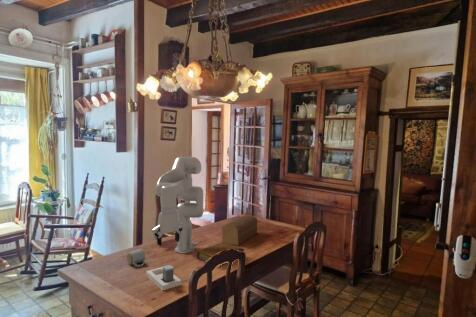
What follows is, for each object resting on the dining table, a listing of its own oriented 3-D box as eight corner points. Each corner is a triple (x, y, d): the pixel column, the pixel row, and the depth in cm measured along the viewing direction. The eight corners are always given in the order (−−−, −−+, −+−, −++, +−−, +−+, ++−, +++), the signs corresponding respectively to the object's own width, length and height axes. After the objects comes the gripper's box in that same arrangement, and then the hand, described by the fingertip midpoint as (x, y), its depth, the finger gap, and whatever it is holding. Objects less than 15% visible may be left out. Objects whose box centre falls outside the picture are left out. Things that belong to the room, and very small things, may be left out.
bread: (257, 233, 241) (258, 215, 240) (238, 246, 211) (238, 226, 210) (241, 230, 247) (242, 213, 246) (220, 242, 217) (221, 223, 216)
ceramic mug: (126, 262, 179) (126, 250, 178) (139, 259, 184) (139, 247, 183) (134, 269, 171) (134, 255, 170) (147, 265, 176) (147, 252, 176)
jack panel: (163, 271, 169) (163, 266, 169) (181, 284, 154) (181, 280, 153) (146, 275, 163) (146, 271, 162) (162, 290, 147) (162, 285, 147)
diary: (223, 250, 205) (223, 241, 205) (243, 258, 192) (244, 249, 192) (196, 258, 188) (196, 249, 188) (217, 268, 175) (217, 258, 175)
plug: (169, 281, 157) (170, 264, 156) (173, 284, 154) (173, 267, 153) (162, 283, 154) (162, 266, 154) (166, 286, 151) (166, 269, 151)
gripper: (180, 206, 162) (180, 237, 163) (149, 210, 151) (149, 244, 152) (187, 209, 156) (187, 241, 157) (155, 214, 145) (155, 249, 146)
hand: (168, 243), depth 155 cm, fingers open, 9 cm apart
